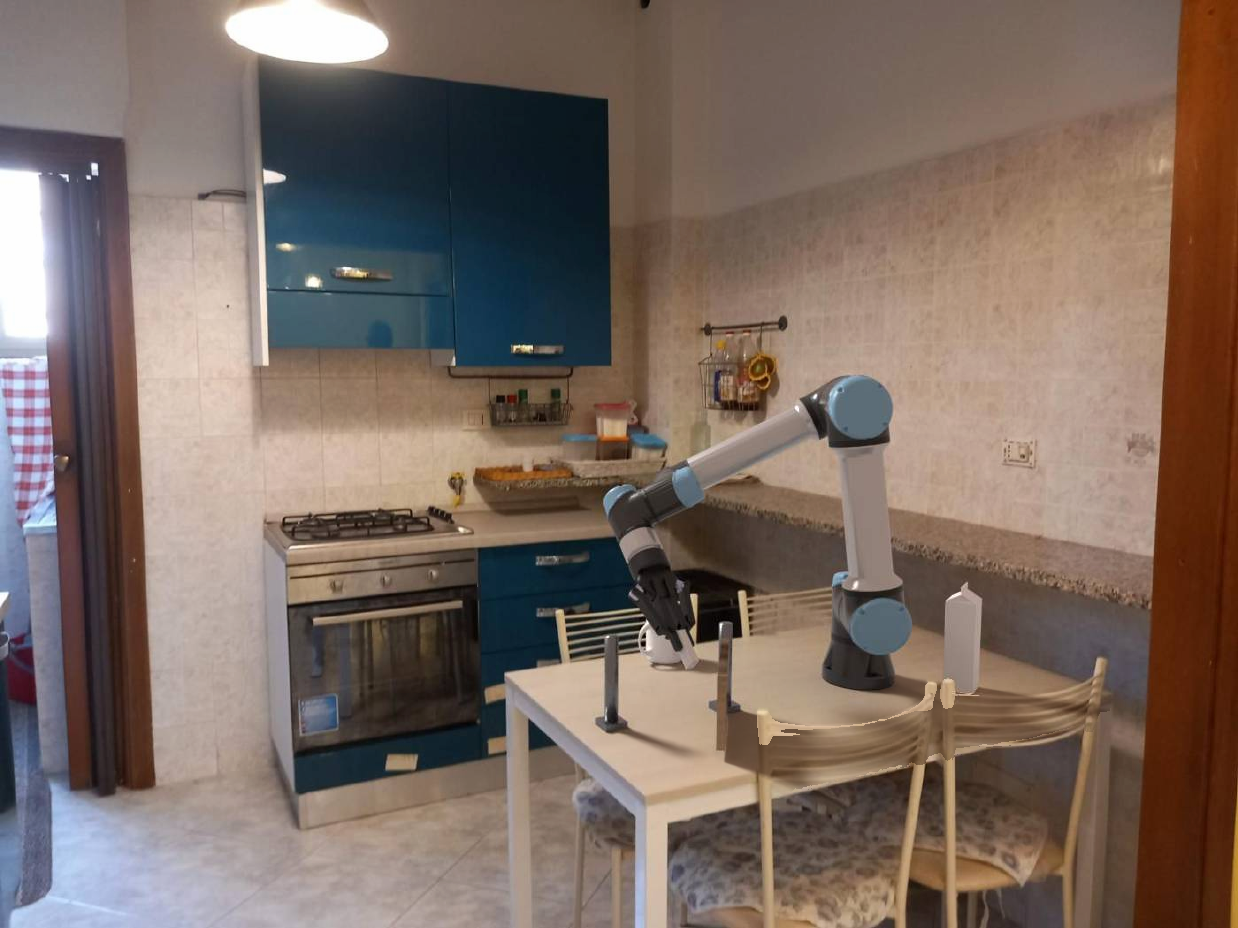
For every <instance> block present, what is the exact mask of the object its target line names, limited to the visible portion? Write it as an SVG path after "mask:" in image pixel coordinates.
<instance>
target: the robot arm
mask: <svg viewBox="0 0 1238 928" xmlns="http://www.w3.org/2000/svg"><path fill="white" fill-rule="evenodd" d="M893 414H894V404H893V399H892V396H891V394H890V393H889V391H888V389H887V388H886V387H885V386H884V385H883V384H882V383H881V382H879V381H878V380H877V379H875V378H874V377H871V376H867V375H863V374H857V375H856V374H855V375H854V374H852V375H841V376H837V377H835V378H833V379H831V380H829V381H827V382H826V383H824V384H823V385H821V386H820V387H818V388H817V389H815V390H813V391H812V392H810V393H807V394H806V395H804V396H802V397H800V398H798V399H796V401H795V404H794V406H792V407H790V408H789V409H786V410H784V411H782V412H780V413H779V414H777V415H774V416H772V417H770V418H768V419H766V420H764V421H762V422H761V423H758V424H755V425H753V426H751V427H750V428H747V429H744V431H742V432H739V433H738V434H736V435H735V434H734V435H733V436H731V437H729V438H727V439H725V440H723V441H721V442H718V443H717V444H715V445H712V446H711V447H708V448H706V449H704V450H702V451H700V452H698V453H696V454H694V455H692V456H690V457H687V458H686V459H684V460H683V461H680V462H678V463H676V464H674V465H671V466H665V467H663V468H662V469H661V470H659V471H658V472H657V473H656V475H655V476H654V479H653V482H652V483H650V484H648V485H647V486H645V487H641V489H640V488H639V489H637V488H636V487H635V486H634V485H631V484H623V485H622V486H620V485H617V486H615V487H613V488H612V489H610V490H609V491H608V492H607V493H605V496H603V500H602V501H603V502H602V503H603V504H602V505H603V507H604V511H605V514H606V516H607V517H606V518H607V521H608V522H609V525H610V526H611V529H612V531H613V534H614V536H615V538H616V541H617V543H618V546H619V547H620V549H621V552H622V554H623V557H624V559H625V562H626V563H627V567H628V569H629V572H630V575H631V577H632V578H633V581H634V582H635V584H634V585H635V586H633V587H632V588H631V589H630V592H629V593H628V595H627V598H628V599H629V600H630V601H631V602H632V603H634V604H635V606H637V608H638V609H639V611H640V612H641V614H642V615H643V617H644V618H645V620H646V619H647V621H648V622H649V624H650V625H651V627H652V628H653V630H654V631H655V633H656V634H657V635H658V636H661V635H665V639H666V640H670V642H671V644H672V647H673V649H674V651H675V652H679V654H680V657H681V659H682V660H681V661H682V663H683V665H684V668H685V670H691V669H692V670H693V669H694V668H695V667H696V665H697V664H698V663H699V662H700V660H699V658H698V655H697V653H696V652H695V649H694V647H695V646H696V645H695V644H696V643H695V641H694V639H693V636H692V633H691V631H692V629H693V628H694V626H695V625H696V624H697V623H696V617H695V612H694V607H693V601H692V597H691V592H690V590H691V581H690V580H687V579H686V580H685V581H682V580H680V579H678V578H677V575H676V574H674V572H673V570H672V568H671V564H670V560H669V559H668V556H667V554H666V551H665V550H664V549H663V544H662V543H661V541H660V539H659V536H658V534H657V532H656V530H655V527H654V525H657V524H658V523H661V522H662V521H664V520H667V519H668V518H671V517H672V516H675V515H677V514H678V513H681V512H683V511H685V510H687V509H689V508H693V507H694V505H697V504H699V503H700V502H701V501H703V500H705V497H706V493H705V491H706V490H707V489H709V488H711V487H714V486H716V485H718V484H719V483H721V482H723V481H724V482H725V481H726V480H728V479H731V478H732V477H734V476H736V475H739V474H740V473H743V472H745V471H747V470H749V469H752V468H753V467H755V466H758V465H759V464H762V463H763V462H765V461H768V460H770V459H772V458H774V457H777V456H778V455H780V454H782V453H785V452H787V451H788V450H790V449H793V448H795V447H797V446H799V445H801V444H803V443H805V442H807V441H809V440H813V441H815V442H818V441H820V440H824V439H825V438H827V441H828V449H829V450H830V451H832V452H833V453H834V454H835V455H836V457H837V464H838V472H839V473H838V474H839V486H840V495H841V496H840V497H841V505H842V506H841V507H842V516H843V517H842V518H843V526H844V535H845V536H844V537H845V538H844V539H845V549H846V559H847V561H846V562H847V571H846V570H845V571H839V572H836V573H834V575H833V577H832V583H831V584H832V585H831V587H830V588H831V589H832V591H831V621H830V622H831V626H830V627H831V628H830V629H831V631H830V633H831V634H830V642H829V645H828V648H827V651H826V653H825V656H824V657H823V662H822V664H821V676H822V678H823V680H824V681H826V682H828V683H830V684H832V685H835V686H838V687H843V688H847V689H855V690H880V689H885V688H888V687H890V686H893V684H894V683H895V681H896V680H895V679H896V678H895V677H896V671H895V667H894V664H893V660H892V656H891V654H893V653H895V652H897V651H898V650H901V648H902V647H903V646H904V645H906V644H907V642H909V641H908V640H909V639H910V637H911V635H912V631H913V622H912V621H913V620H912V617H911V614H910V612H909V610H908V608H907V607H906V603H905V593H904V592H905V591H904V582H903V579H902V578H900V576H898V575H897V574H896V573H895V572H894V561H893V552H892V551H893V550H892V539H891V530H890V529H891V527H890V518H889V503H888V496H887V483H886V473H885V472H886V471H885V470H886V469H885V460H884V451H885V450H886V448H888V446H889V445H890V444H891V434H890V423H891V421H892V418H893ZM675 589H676V591H675ZM677 594H678V598H677ZM676 630H677V631H676Z"/></svg>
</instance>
